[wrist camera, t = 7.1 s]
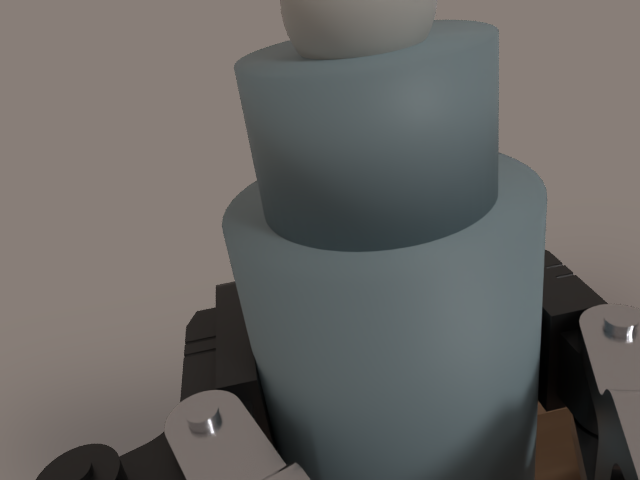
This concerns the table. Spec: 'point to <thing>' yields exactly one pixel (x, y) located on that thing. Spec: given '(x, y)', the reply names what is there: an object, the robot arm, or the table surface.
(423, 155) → the pepper mill
